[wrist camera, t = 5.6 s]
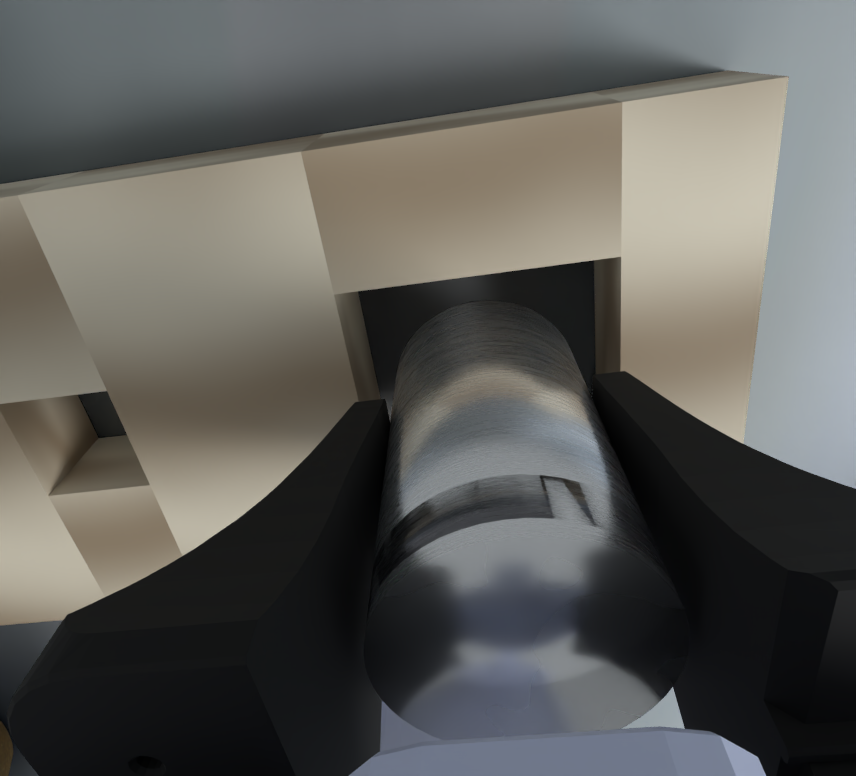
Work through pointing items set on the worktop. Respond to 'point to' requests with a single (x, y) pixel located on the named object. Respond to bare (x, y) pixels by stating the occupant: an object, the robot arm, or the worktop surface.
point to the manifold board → (344, 299)
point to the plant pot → (5, 751)
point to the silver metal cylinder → (512, 544)
